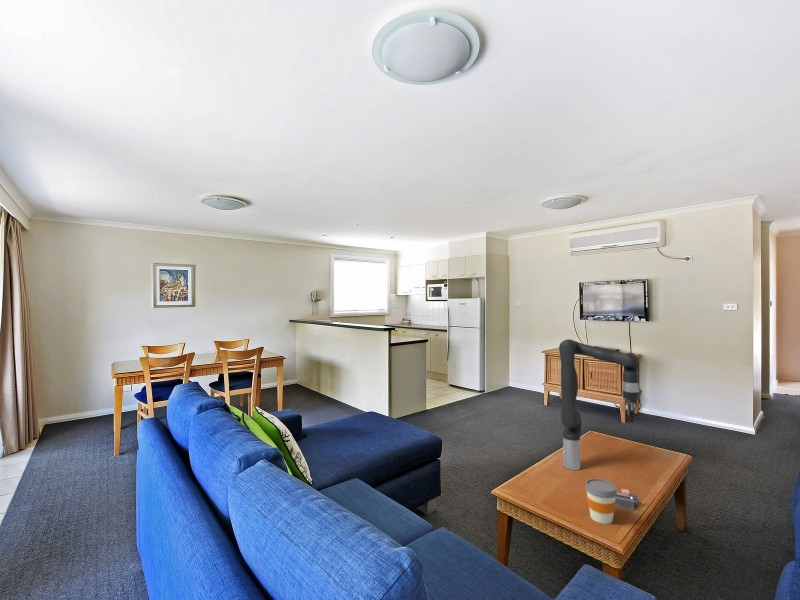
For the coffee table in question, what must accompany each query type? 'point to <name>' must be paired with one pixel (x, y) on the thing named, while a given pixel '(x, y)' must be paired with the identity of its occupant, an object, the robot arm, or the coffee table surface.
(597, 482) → the reusable coffee cup
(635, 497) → the arm
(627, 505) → the tongs jaw
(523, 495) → the coffee table surface
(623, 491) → the salmon pink block
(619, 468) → the coffee table surface
